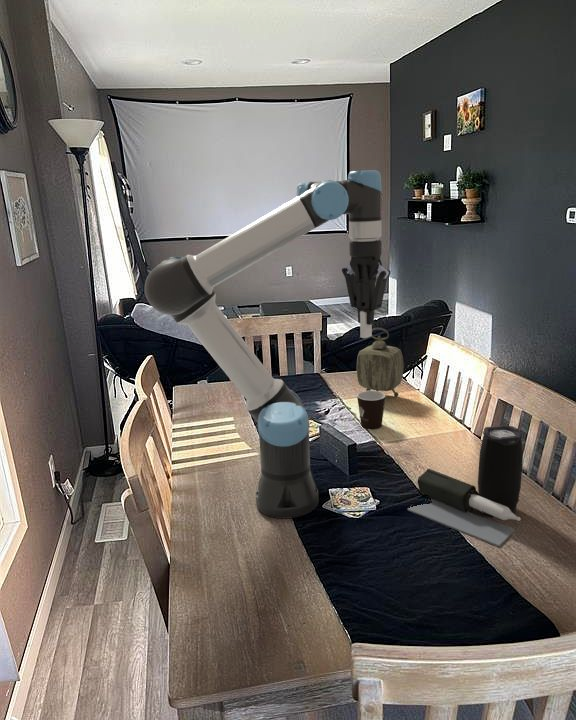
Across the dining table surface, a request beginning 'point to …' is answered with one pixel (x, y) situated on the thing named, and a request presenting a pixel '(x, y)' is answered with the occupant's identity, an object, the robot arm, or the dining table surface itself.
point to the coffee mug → (371, 409)
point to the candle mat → (464, 522)
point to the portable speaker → (500, 466)
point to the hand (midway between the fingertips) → (366, 336)
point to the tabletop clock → (380, 366)
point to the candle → (460, 495)
